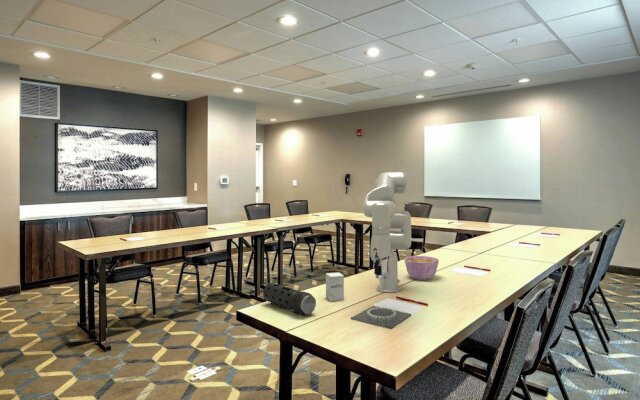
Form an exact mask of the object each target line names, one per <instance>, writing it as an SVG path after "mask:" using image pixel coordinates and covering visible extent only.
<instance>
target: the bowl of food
mask: <svg viewBox="0 0 640 400" xmlns="http://www.w3.org/2000/svg"><path fill="white" fill-rule="evenodd" d="M439 261H440V260H439V259H438V258H437V257H433V256H429V255H428V256H426V255H409V256H406V257H404V264H405V268H406V271H407V274H408V275H409V276H410V277H411V278H413V279H414V280H416V281H417V280H418V281H427V280H429V279H431V278H433V277H434V276H435V275H436V273H437V269H438V266H439Z"/></svg>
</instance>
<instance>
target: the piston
mask: <svg viewBox="0 0 640 400" xmlns="http://www.w3.org/2000/svg"><path fill="white" fill-rule="evenodd" d="M378 262H379V260H378ZM381 266H382V275H375V274H374V275H375V279H377V280H380V279H386V278H387V259H386V258H382V259H381Z"/></svg>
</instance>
